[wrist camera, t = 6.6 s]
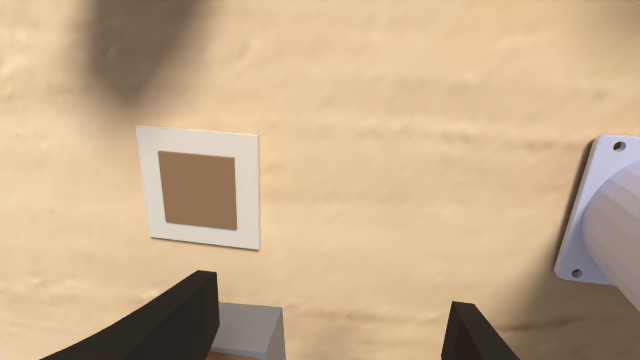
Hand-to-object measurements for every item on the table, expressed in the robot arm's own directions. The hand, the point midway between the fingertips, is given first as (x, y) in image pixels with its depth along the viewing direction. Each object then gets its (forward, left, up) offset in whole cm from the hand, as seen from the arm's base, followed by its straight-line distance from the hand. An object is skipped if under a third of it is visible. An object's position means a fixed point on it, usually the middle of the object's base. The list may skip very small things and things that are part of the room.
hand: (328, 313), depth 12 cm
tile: (+9, +1, -10) cm, 14 cm away
